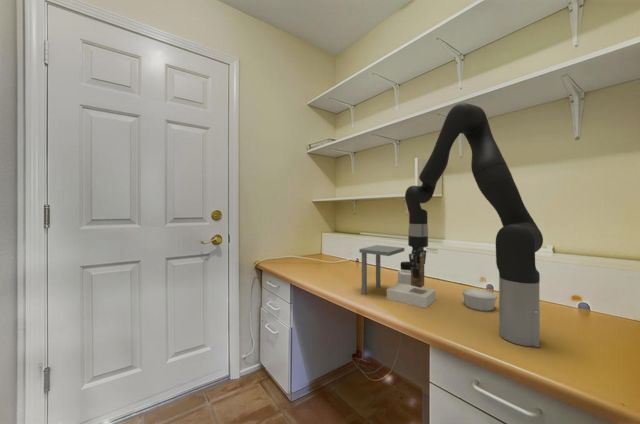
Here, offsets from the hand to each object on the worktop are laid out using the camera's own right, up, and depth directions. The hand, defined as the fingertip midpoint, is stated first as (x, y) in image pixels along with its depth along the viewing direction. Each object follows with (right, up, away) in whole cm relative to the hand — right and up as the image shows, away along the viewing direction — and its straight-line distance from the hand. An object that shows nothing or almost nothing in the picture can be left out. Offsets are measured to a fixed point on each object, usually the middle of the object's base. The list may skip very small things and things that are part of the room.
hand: (417, 276), depth 104 cm
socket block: (-2, -10, +2) cm, 10 cm away
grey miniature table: (-12, -10, +10) cm, 19 cm away
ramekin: (+21, -10, -6) cm, 24 cm away
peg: (0, -4, 0) cm, 4 cm away
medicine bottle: (+2, -10, +19) cm, 22 cm away
